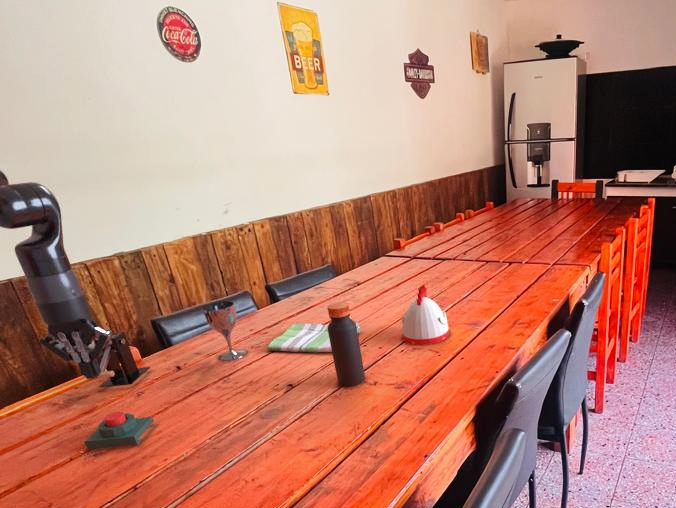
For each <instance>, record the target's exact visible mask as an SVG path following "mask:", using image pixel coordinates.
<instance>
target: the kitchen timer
mask: <svg viewBox="0 0 676 508" xmlns="http://www.w3.org/2000/svg"><path fill="white" fill-rule="evenodd" d="M427 289H428V288H427V287H426V285H425V284H422V285H421V286H419V287H418V293H417V298H416V299H413V301H412V302H411V303H410V304H409V306H408V307H407V309H406V311H404V314H403V316H402V317H401V324H402V325H401V326H402V327H401V335H402V340H403V341H404V342H406V343H408V344H410V345H411V344H412V345H418V346H419V345H421V346H422V345H424V346H425V345H432V344H436V343H437V344H438V343H439V342H443V340H445V339H447V338H448V337H449V335H450V329H449V324H448V318H447V314H446V311H445V310H443V311H442V309H441V307H440V306H439V304H437V303H436V301H434V300H432V299H431V298H429V297H427V293H428V292H427V291H428V290H427Z"/></svg>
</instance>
